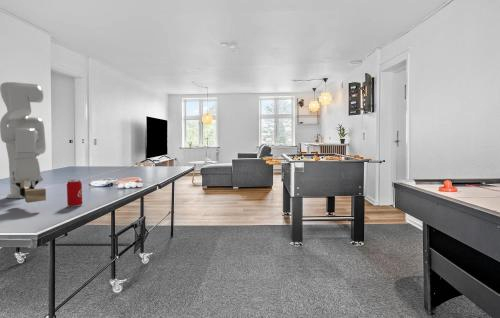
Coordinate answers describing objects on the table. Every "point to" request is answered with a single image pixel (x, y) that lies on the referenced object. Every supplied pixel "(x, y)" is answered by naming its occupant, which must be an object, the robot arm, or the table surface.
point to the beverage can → (74, 193)
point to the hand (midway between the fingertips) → (27, 195)
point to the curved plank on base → (34, 194)
